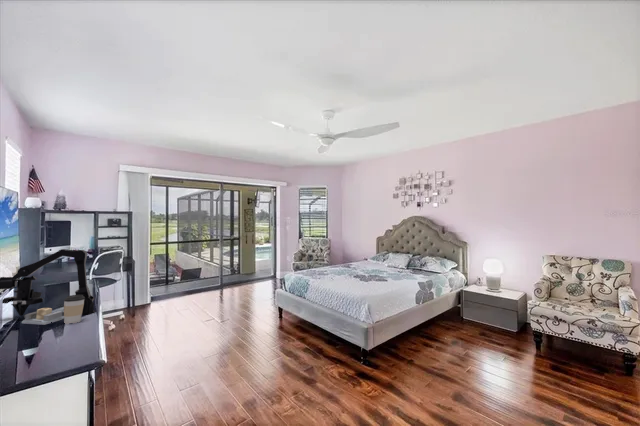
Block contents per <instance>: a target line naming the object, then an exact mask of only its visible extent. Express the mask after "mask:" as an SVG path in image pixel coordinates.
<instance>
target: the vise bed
mask: <svg viewBox="0 0 640 426" xmlns="http://www.w3.org/2000/svg"><path fill="white" fill-rule="evenodd" d="M61 320H64V315H63V311H58V310H57V311H54V312H52V313H51V314H47V315H44V320H37V319H36V318H35V319H32V320H25V319H23V320H22V321H21V324H25V325H26V324H27V325H41V326H42V325H43V326H44V325H48V324H52V323H55V322H58V321H61ZM51 322H52V323H51Z"/></svg>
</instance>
